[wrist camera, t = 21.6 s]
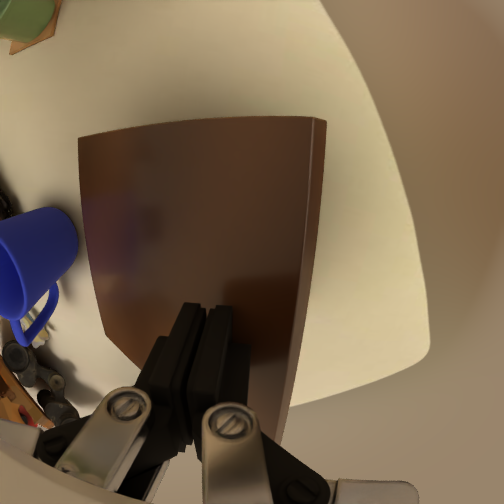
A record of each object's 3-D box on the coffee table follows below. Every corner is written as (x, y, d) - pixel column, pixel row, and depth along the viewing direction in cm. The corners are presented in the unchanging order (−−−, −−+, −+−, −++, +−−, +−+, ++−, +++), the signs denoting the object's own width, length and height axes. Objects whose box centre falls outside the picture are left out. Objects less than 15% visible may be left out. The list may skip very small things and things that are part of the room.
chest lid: (327, 120, 7) (314, 116, 6) (278, 455, 12) (269, 465, 12) (88, 136, 15) (77, 137, 15) (113, 331, 21) (105, 335, 20)
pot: (20, 8, 15) (-18, -3, 8) (61, -15, 15) (23, -34, 8) (12, 54, 17) (-31, 49, 11) (52, 32, 17) (7, 18, 10)
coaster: (23, 6, 15) (20, 5, 15) (66, -15, 15) (63, -17, 14) (12, 55, 18) (8, 54, 17) (53, 35, 18) (50, 34, 17)
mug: (41, 293, 28) (-8, 339, 19) (30, 194, 24) (-38, 223, 15) (94, 309, 29) (47, 367, 19) (87, 201, 24) (15, 236, 15)
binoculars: (-1, 348, 30) (27, 328, 35) (59, 428, 33) (84, 407, 38) (-5, 351, 23) (29, 326, 28) (73, 450, 26) (102, 424, 30)
